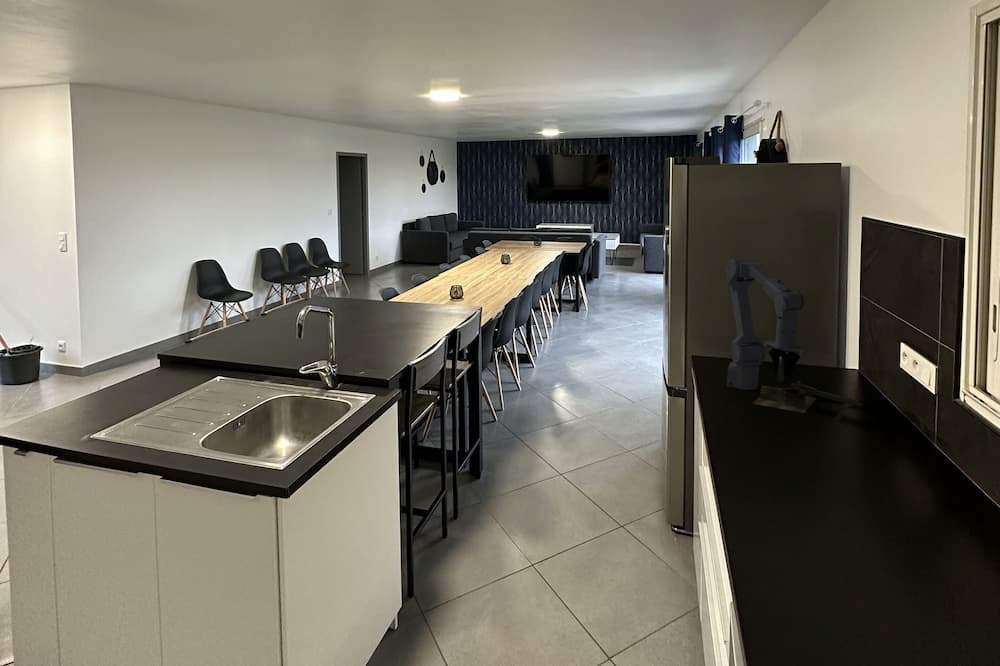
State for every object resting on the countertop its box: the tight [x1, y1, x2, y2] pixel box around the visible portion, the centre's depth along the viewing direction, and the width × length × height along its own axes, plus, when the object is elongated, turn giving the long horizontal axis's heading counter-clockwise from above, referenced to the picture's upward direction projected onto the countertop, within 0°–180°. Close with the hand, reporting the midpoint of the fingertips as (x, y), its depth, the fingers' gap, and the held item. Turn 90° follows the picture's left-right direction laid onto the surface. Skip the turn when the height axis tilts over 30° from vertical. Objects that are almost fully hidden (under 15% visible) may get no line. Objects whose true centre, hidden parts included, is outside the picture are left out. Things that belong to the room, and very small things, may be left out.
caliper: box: [790, 379, 863, 407], centre depth 202 cm, size 20×1×6 cm, turn 65°
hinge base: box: [752, 383, 817, 413], centre depth 203 cm, size 15×17×5 cm
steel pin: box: [776, 356, 789, 385], centre depth 198 cm, size 3×3×8 cm
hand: (783, 374), depth 199 cm, fingers closed on steel pin, 3 cm apart
